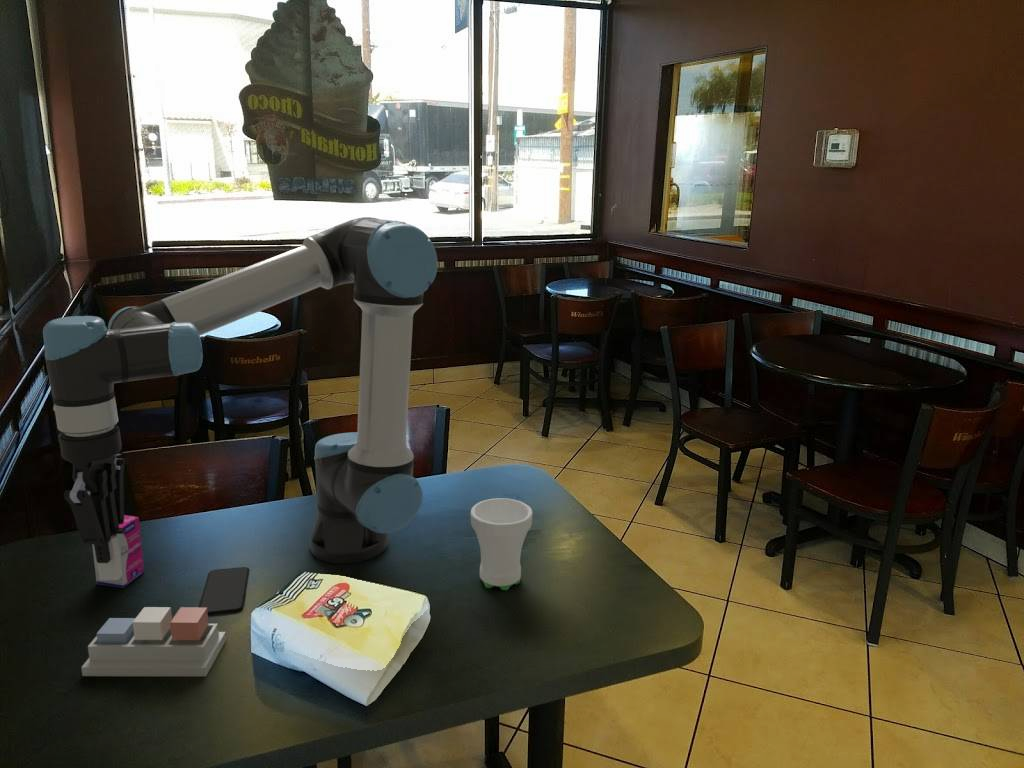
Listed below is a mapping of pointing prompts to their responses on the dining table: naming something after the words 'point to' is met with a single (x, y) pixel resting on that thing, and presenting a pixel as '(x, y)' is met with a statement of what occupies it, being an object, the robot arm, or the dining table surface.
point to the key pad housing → (156, 656)
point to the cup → (501, 539)
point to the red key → (189, 623)
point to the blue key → (116, 631)
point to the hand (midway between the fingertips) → (111, 577)
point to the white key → (152, 623)
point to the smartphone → (225, 590)
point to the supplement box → (126, 553)
